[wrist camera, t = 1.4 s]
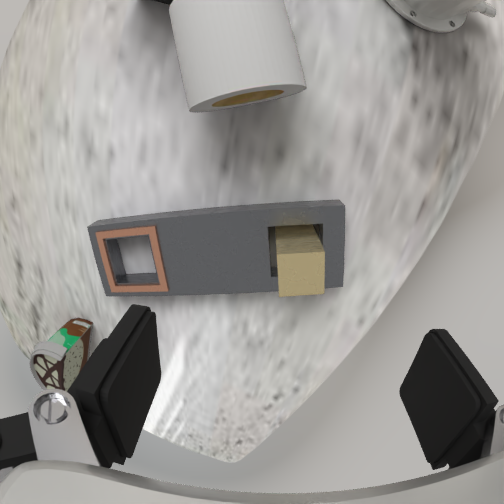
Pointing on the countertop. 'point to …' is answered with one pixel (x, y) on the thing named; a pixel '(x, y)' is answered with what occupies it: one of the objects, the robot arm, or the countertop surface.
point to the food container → (62, 355)
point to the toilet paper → (235, 52)
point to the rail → (214, 248)
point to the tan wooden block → (299, 260)
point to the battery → (165, 1)
